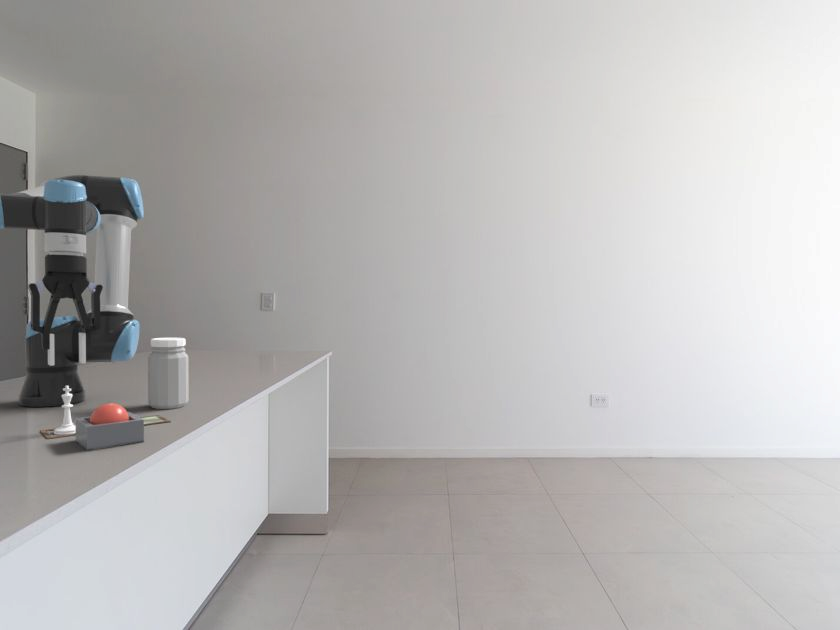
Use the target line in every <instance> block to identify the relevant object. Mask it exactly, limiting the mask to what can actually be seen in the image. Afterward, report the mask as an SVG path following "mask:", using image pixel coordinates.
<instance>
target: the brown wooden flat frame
mask: <svg viewBox="0 0 840 630" xmlns="http://www.w3.org/2000/svg"><path fill="white" fill-rule="evenodd" d="M139 417H140V416H139ZM140 418H141V419H143V420H144V427H146V426H151V425H152V424H153V425H159V424H166V423H171V420H169V419H167V418H166V417H163V416H162V415H159V414H155V415H148V416H141V417H140ZM56 428H57V427H55V428H47V429H46V428H45V429H40V430H39V432H40V433H41V434H42V435H43V436H44V438H46V439H47V440H50V439H51V440H52V439H57V438H65V437H72V436H76V433H74V434H67V435H55V436H54V435H53V436H51V435H50V434H49V433H48V432H47V431H49V432H51V431H54V430H55V429H56Z"/></svg>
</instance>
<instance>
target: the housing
mask: <svg viewBox="0 0 840 630" xmlns="http://www.w3.org/2000/svg"><path fill="white" fill-rule="evenodd" d="M127 413H128V415H129V421H121V422H114V423H106V424H98V425H92V424H90V423H89V421H90V417H91V415H90V416H84V417H83V416H82V417H77V418H74V419H75V421H74V422H75V423H74V424H75V426H76V435H75V441H76V442H77V443H78V444H79V445H80V446H81V447H83V449H85V450H86V451H87V452H90V451H94V450H95V451H96V450H100V449H101V450H102V449H108V448H114V447H121V446H126V445H132V444H133V445H134V444H139V443H145V426H144V420H143V419H141V418H140V416H138V415H136V414H134V413H132V412H131V411H127Z"/></svg>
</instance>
